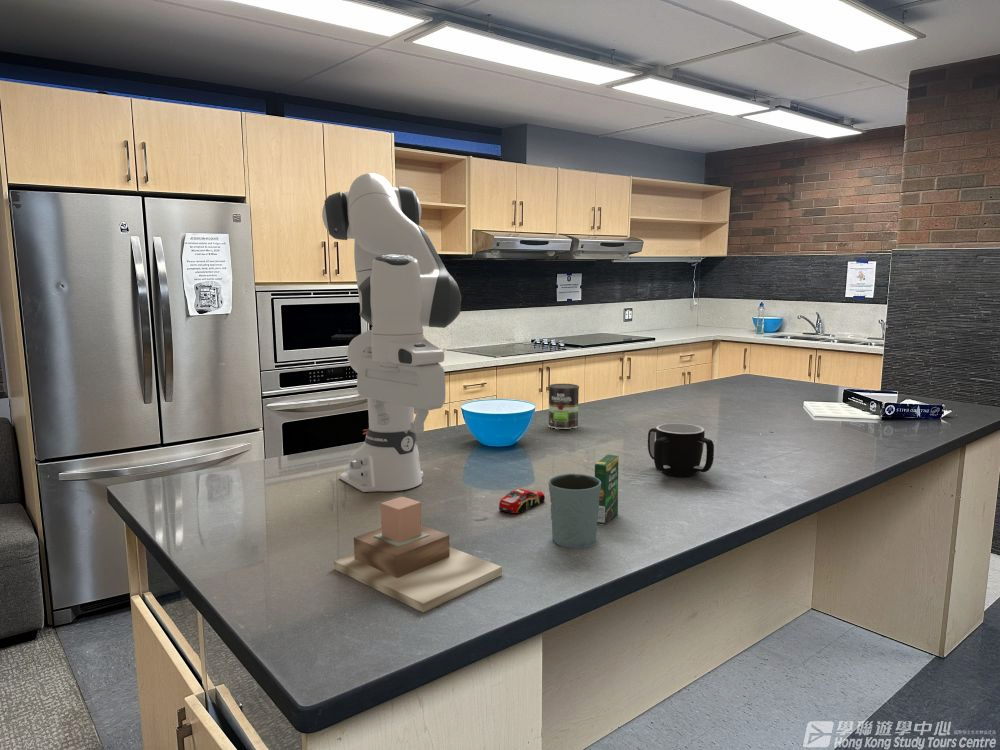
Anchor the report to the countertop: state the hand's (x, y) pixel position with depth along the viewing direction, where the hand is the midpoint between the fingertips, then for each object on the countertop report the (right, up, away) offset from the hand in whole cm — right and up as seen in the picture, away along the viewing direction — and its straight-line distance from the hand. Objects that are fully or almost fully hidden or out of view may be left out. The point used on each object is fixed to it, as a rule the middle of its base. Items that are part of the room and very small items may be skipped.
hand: (399, 428), depth 120 cm
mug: (+64, -16, +59) cm, 89 cm away
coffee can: (+39, -8, +114) cm, 121 cm away
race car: (+23, -21, +35) cm, 46 cm away
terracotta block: (0, -19, +2) cm, 19 cm away
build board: (+3, -25, 0) cm, 25 cm away
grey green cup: (+32, -23, +14) cm, 42 cm away
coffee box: (+40, -21, +26) cm, 52 cm away
